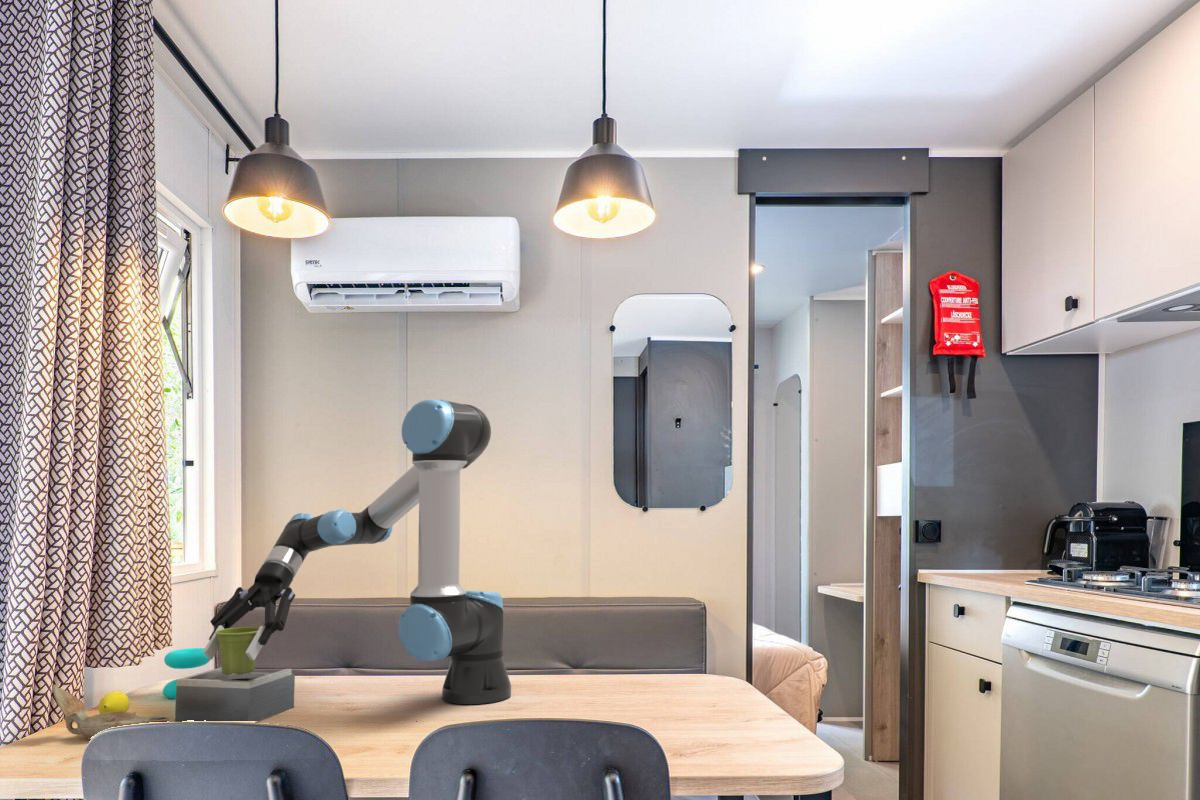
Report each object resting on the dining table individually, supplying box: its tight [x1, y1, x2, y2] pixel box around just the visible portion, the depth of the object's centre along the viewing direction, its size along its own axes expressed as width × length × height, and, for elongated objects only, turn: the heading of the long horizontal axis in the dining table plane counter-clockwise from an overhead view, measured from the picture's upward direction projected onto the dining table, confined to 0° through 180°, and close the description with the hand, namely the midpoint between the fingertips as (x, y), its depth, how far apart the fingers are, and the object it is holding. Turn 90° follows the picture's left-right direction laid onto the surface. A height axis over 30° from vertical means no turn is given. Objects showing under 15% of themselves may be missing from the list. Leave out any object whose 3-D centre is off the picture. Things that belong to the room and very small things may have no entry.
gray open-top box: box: [174, 666, 296, 722], centre depth 173 cm, size 20×15×8 cm
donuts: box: [162, 647, 212, 700], centre depth 192 cm, size 10×10×10 cm
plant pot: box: [215, 626, 260, 675], centre depth 173 cm, size 9×9×9 cm
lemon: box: [97, 690, 130, 714], centre depth 171 cm, size 7×5×5 cm
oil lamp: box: [52, 684, 171, 740], centre depth 157 cm, size 9×21×10 cm, turn 95°
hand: (228, 656), depth 170 cm, fingers closed on plant pot, 9 cm apart
